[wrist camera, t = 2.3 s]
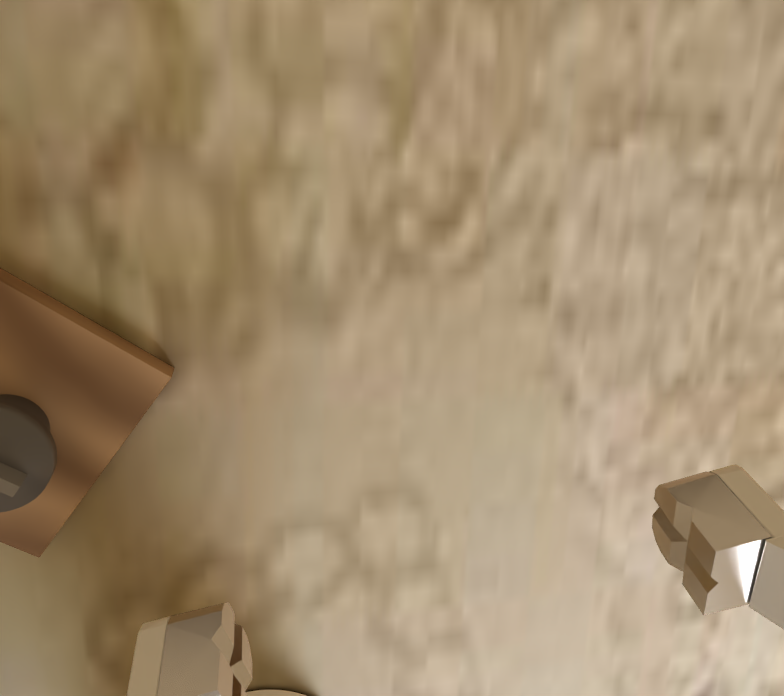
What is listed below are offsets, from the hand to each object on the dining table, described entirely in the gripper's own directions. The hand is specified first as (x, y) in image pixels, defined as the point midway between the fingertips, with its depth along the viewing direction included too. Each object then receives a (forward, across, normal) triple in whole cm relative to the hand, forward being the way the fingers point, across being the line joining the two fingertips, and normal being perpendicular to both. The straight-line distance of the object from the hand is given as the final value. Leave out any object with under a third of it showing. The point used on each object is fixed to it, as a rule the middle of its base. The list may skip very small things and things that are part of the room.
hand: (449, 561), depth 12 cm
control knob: (+26, -22, -11) cm, 36 cm away
